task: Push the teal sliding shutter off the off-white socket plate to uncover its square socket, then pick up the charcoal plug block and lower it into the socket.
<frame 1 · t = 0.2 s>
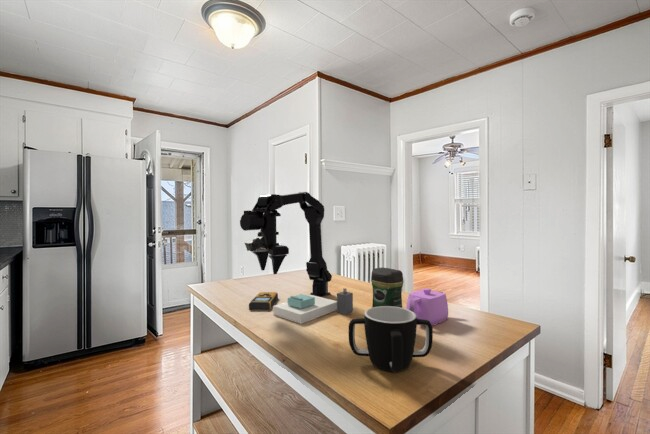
hand: (268, 272, 113), 14 cm above the counter, fingers open, 9 cm apart
electronic device: (264, 305, 123), on the counter
socket plate: (306, 311, 113), on the counter
plug: (345, 312, 112), on the counter
shutter: (301, 300, 111), point 5 cm above the counter, slide at 0.0 cm
coffee jar: (387, 328, 97), on the counter
mug: (390, 364, 75), on the counter
teapot: (427, 319, 105), on the counter
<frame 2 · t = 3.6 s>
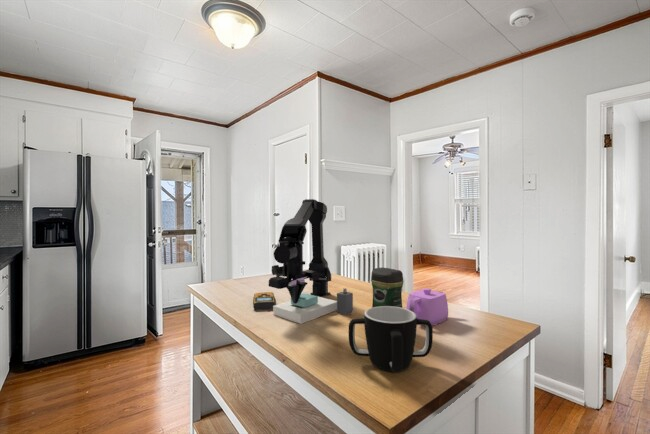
hand: (295, 303, 109), 4 cm above the counter, fingers closed
shutter: (304, 299, 112), point 5 cm above the counter, slide at 1.5 cm, touching gripper
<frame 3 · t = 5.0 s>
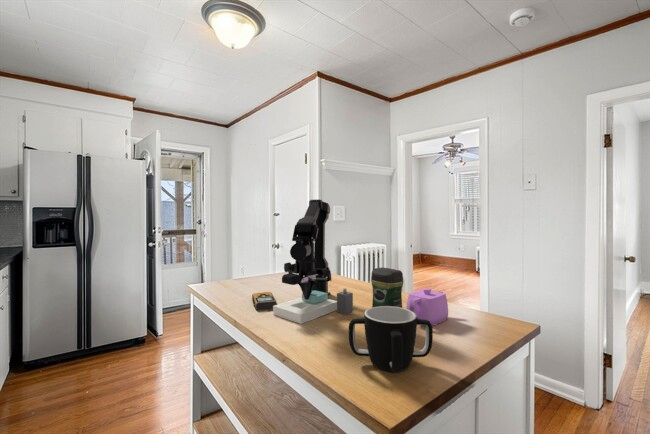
hand: (306, 299, 113), 4 cm above the counter, fingers closed
shutter: (315, 296, 116), point 5 cm above the counter, slide at 7.1 cm, touching gripper
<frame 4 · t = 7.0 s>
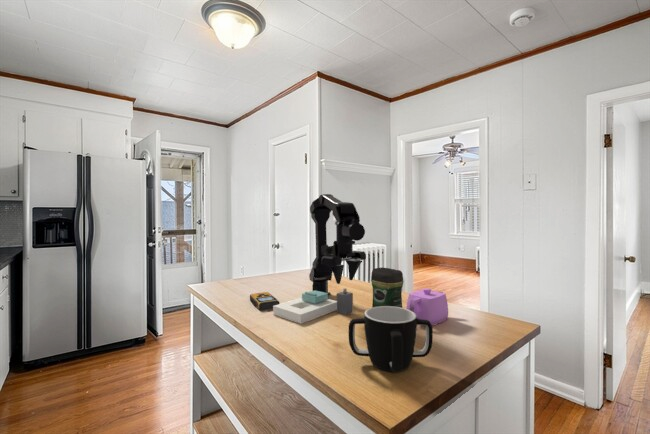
hand: (344, 281, 111), 11 cm above the counter, fingers open, 7 cm apart
shutter: (315, 296, 116), point 5 cm above the counter, slide at 7.1 cm
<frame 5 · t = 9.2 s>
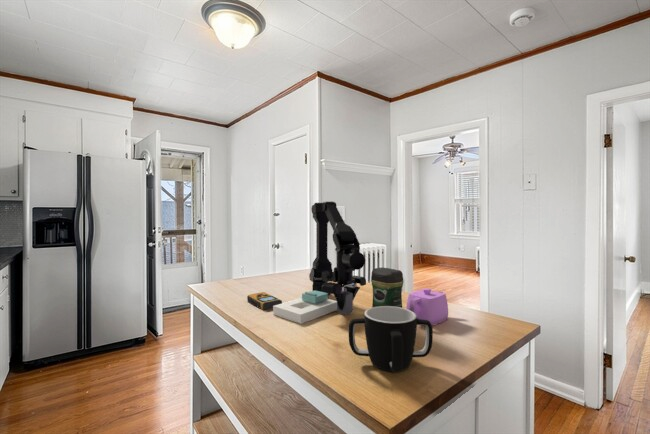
hand: (344, 308, 112), 2 cm above the counter, fingers closed on plug, 4 cm apart
plug: (345, 312, 112), on the counter, touching gripper
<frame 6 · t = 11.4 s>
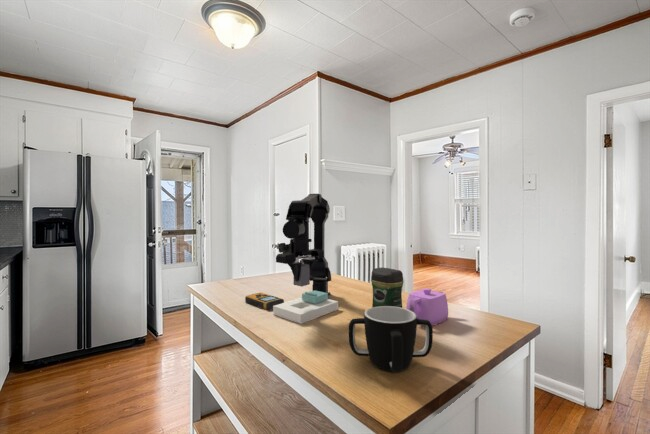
hand: (301, 280, 111), 12 cm above the counter, fingers closed on plug, 4 cm apart
plug: (301, 284, 111), point 10 cm above the counter, touching gripper
when the fingers open (3 cm above the counter, at t = 13.6 s): plug drops 2 cm, resting on socket plate.
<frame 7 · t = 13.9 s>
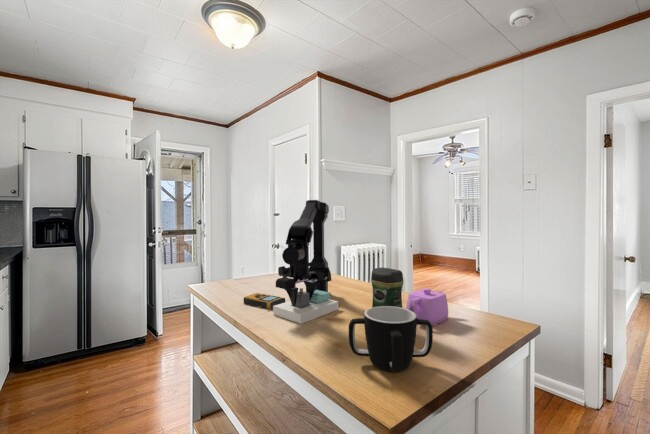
hand: (301, 303, 111), 4 cm above the counter, fingers open, 7 cm apart
plug: (301, 312, 111), resting on socket plate
shutter: (317, 295, 117), point 5 cm above the counter, slide at 8.2 cm, touching gripper
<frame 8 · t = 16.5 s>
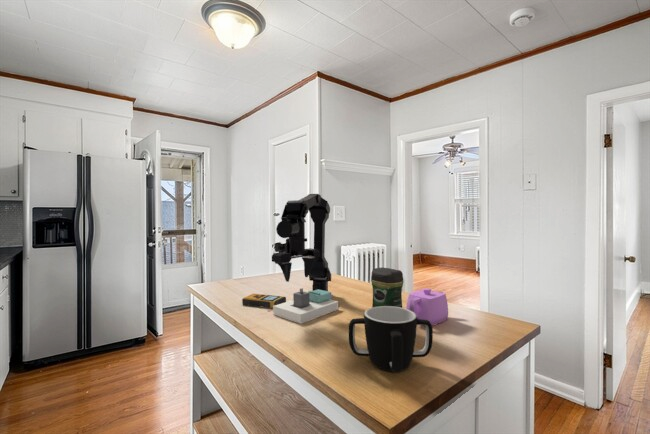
hand: (297, 279, 112), 12 cm above the counter, fingers open, 9 cm apart
shutter: (318, 294, 117), point 5 cm above the counter, slide at 9.0 cm
at the end: plug 0.1 cm from the target spot on the socket plate, point 0.3 cm above the socket plate's base; plug tilted 0°; shutter slide at 9.0 cm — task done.
